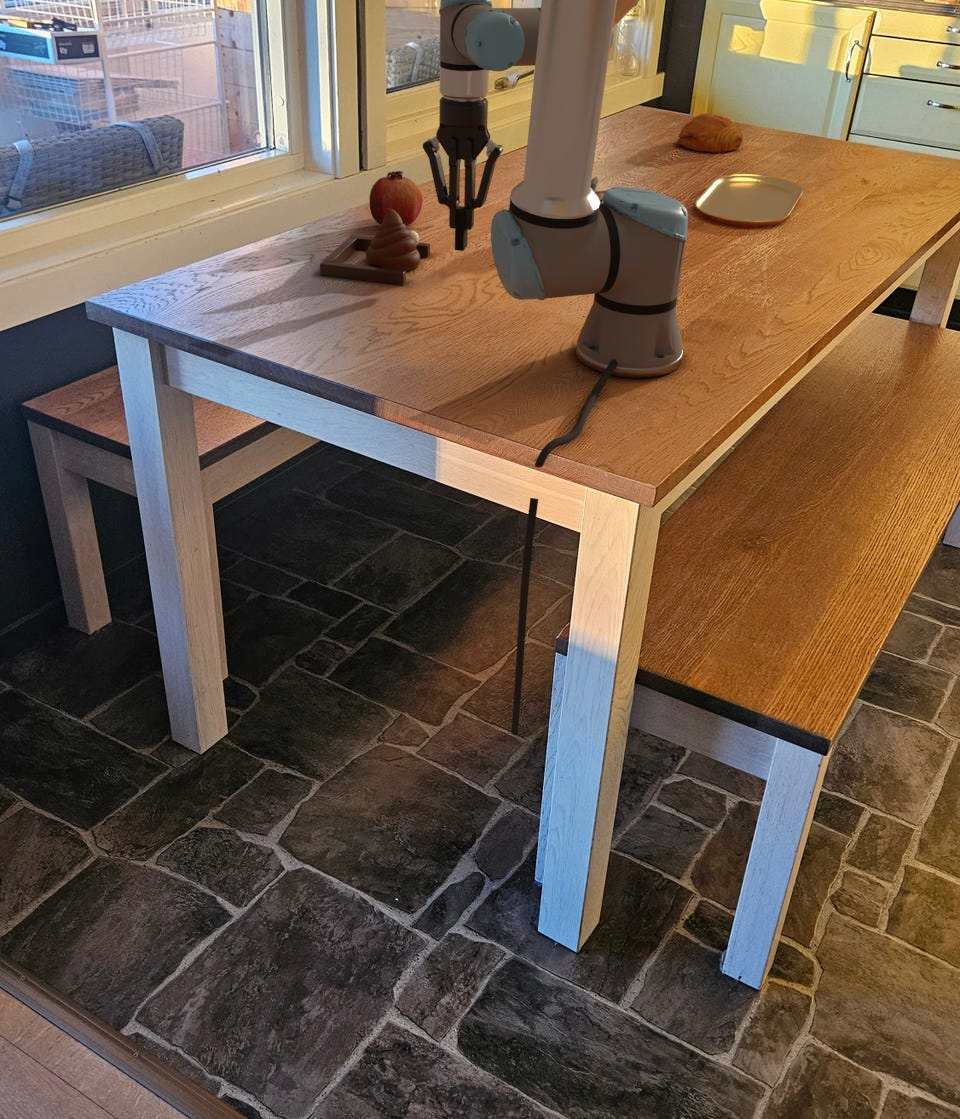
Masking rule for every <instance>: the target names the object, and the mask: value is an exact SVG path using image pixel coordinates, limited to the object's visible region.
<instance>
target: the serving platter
mask: <svg viewBox="0 0 960 1119" xmlns="http://www.w3.org/2000/svg"><path fill="white" fill-rule="evenodd" d="M803 193H804V189H803V188H802V187H801V185H799V184H797V183H795V182H792V181H790V180H787V179H784V178H779V177H775V176H771V175H770V176H769V175H761V174H745V173H743V174H728V175H722V176H720V177H717V178H715V179H714V180H713V181H712V182H711V183H710V185H708V187H707V188H706V189H705V190H704V191H703V192H702V193H701V194H700V195H699V197H698V198H697V199H696V200H695V202H694V206H695V208H696V210H697V212H699V213H700V214H701V215H702V216H704V217H706V218H707V219H709V220H711V221H715V222H718V223H721V224H725V225H731V226H735V227H736V226H738V227H747V228H748V227H749V228H750V227H753V228H754V227H755V228H757V227H758V228H759V227H766V226H767V227H768V226H769V227H770V226H774V225H776V224H779V223H780V224H781V223H782V222H783V221H785V220H787V219H788V218H789V216H790V215H791V213H792V212H793V210H794V209H795V207H796V205H797V204H798V202H799V200H800V199H801V197H802V196H803Z"/></svg>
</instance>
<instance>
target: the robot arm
mask: <svg viewBox="0 0 960 1119" xmlns="http://www.w3.org/2000/svg"><path fill="white" fill-rule="evenodd" d="M640 1H641V0H541V4H540V7H498V8H497V7H493V3H492V0H440V4H439V8H438V14H439V94H441V97H440V99H439V119H438V120H439V124H438V125H439V126H438V129H437V130H436V133H435V136H434V137H432V138H428V139H427V140H425V141H424V142H423V143H422V149H423V150H424V152H425V154H426V156H427V158H428V161H429V165H430V169H431V174H432V180H433V182H434V183H433V184H434V188H435V194H436V197H437V202H438V204H439V205H444V206H446V207H447V209H449V212H448V213H449V215H448V217H449V218H448V226H449V228H450V229H454V251H459V252H465V250H466V249H467V247H468V237H469V236H468V234H469V232H468V231H471V230H472V229H473V227H474V226H475V209H480V208H482V207H483V206H484V205H485V204H486V201H487V198H488V195H489V191H490V186H491V183H492V179H493V176H494V172H495V169H496V168H495V167H496V164H497V161H498V159H499V158H500V156H501V155H502V153H503V152H504V146H503V145H501V144H497V143H495V141H493V140H492V139H491V134H490V132H489V129H488V120H489V118H488V116H489V114H488V113H489V100H487V98H486V97H487V96H488V95H489V82H490V80H489V79H490V71H491V72H497V73H498V72H504V71H507V70H509V69H511V68H512V67H529V66H530V67H531V66H532V67H534V73H533V74H534V75H533V82H532V83H533V85H532V93H531V94H532V95H531V102H530V103H531V104H530V114H529V123H528V124H529V125H528V134H527V144H526V153H525V154H526V155H525V163H524V164H525V165H524V174H523V180H522V181H520V182H519V183H518V184H516V185H515V186H514V187H513V188H512V189H511V191H510V197H509V207H508V209H503V208H502V209H500V210H498V211H497V212H495V213H494V215H493V218H492V220H491V224H490V244H491V245H490V246H491V251H492V257H493V261H494V265H495V270H496V272H497V275H498V276H497V277H498V278H499V280H500V283H501V285H502V287H503V288H504V290H505V291H506V292H507V294H508V295H509V296H510V297H512V298H513V299H516V300H519V301H525V300H526V301H528V300H539V301H545V299H547V300H548V299H557V298H567V297H576V296H586V295H593V302H592V305H591V308H590V309H589V312H588V313H587V316H586V318H585V321H584V323H583V325H582V327H581V329H580V332H579V334H578V337H577V341H576V351H575V352H576V357H577V359H578V360H579V361H580V362H581V363H582V364H584V365H585V366H587V367H588V368H590V369H592V370H594V371H597V372H600V373H602V374H601V376H600V378H599V379H598V380H597V383H596V384H595V386H594V387H593V389H592V390H591V392H590V394H589V396H587V397H588V398H587V400H586V401H585V403H584V405H583V408H581V411H580V413H579V415H578V418H577V421H576V423H575V425H574V427H573V428H572V429H571V431H570V432H568V433H567V434H565V435H562V436H558V437H556V438H554V439H552V440H551V441H549V442H548V443H547V444H545V446H544V447H543V448H542V450H541V451H540V452H539V454H538V456H537V458H536V461H535V463H534V466H535V468H542V467H544V465H545V462H546V460H547V459H548V457H549V456H550V454H551V452H553V450H555V448H556V449H557V448H558V447H560V446H563V445H566V444H569V443H570V442H572V441H574V440H575V439H576V438H577V437H578V436H579V435H580V433H581V432H582V430H583V428H584V427H585V424H586V422H587V418H588V417H589V415H590V412H591V410H592V408H593V406H594V404H595V403H596V400H597V399H598V397H599V394H600V393H601V392H602V390H603V389H604V387H605V385H606V383H607V382H608V380H609V378H610V377H611V376H616V377H620V378H621V377H622V378H632V379H633V378H634V379H635V378H636V379H643V378H654V377H660V376H664V375H667V374H670V373H672V372H674V371H676V370H677V369H678V368H679V367H681V366H680V365H681V364H682V360H683V354H684V353H683V352H684V350H683V348H684V346H683V340H682V335H681V330H680V324H679V319H678V314H677V305H678V296H679V289H680V282H681V276H682V269H683V263H684V256H685V249H686V242H688V228H689V227H688V225H689V214H688V211H687V210H688V209H686V207H685V205H684V204H683V203H682V202H681V201H679V200H677V199H676V198H673V197H671V196H668V195H666V194H663V193H660V192H657V191H653V190H648V189H643V188H638V187H637V188H636V187H627V186H615V187H610V188H608V189H606V190H604V191H605V193H604V196H603V197H602V202H603V203H602V204H600V200H599V198H598V196H597V195H596V194H595V192H594V191H593V190H592V189H591V187H590V186H591V180H592V179H593V172H594V164H595V158H596V150H597V144H598V143H597V142H598V136H599V129H600V123H601V117H602V116H601V115H602V108H603V102H604V101H603V100H604V95H605V94H604V93H605V86H606V80H607V73H608V65H609V60H610V59H609V58H610V51H611V48H612V47H613V42H614V32H615V30H614V28H615V27H616V26H617V25H618V24H619V23H620V22H621V21H622V19H623V18H625V16H626V15H627V14H628V13H629V12H631V11H632V9H633V8H634V7H635V6H636V5H637V4H638V3H639V2H640ZM441 147H442V149H443V151H444V152H445V154H446V155H447V156H448V185H447V181H446V176H445V172H444V167H443V161H442V157H441V154H440V149H441ZM484 149H486V151H485V154H486V156H487V158H486V161H485V165H484V168H483V172H482V176H481V180H480V184H479V187H478V191H477V195H476V176H477V175H476V171H477V160H478V157H479V156H480V154H481V153H482V151H483V150H484ZM462 161H464V163H463V166H464V194H463V196H464V199H463V200H464V204H463V205H464V206H463V205H460V203H461V200H460V196H461V192H460V191H461V162H462ZM538 505H539V498H534V497H530V498H529V506H528V512H527V513H528V514H527V520H526V528H525V539H524V549H523V556H522V558H523V559H522V569H521V580H520V594H519V605H518V606H519V608H518V620H517V621H518V624H517V638H516V641H517V642H516V656H515V673H514V690H513V704H512V705H513V706H512V716H511V717H512V719H511V730H510V731H511V732H510V733H511V735H512V736H517V735H519V731H520V730H519V729H520V717H521V703H522V690H523V689H522V688H523V677H524V676H523V675H524V662H525V661H524V658H525V644H526V643H525V642H526V630H527V629H526V628H527V616H528V615H527V613H528V600H529V588H530V577H531V576H530V575H531V565H532V556H533V546H534V537H535V529H536V520H537V512H538Z"/></svg>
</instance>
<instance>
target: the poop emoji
mask: <svg viewBox="0 0 960 1119" xmlns="http://www.w3.org/2000/svg"><path fill="white" fill-rule="evenodd" d="M372 237H373V238H372V240H371V245H370V246H369V247H368V249H367V250H365V259H366V261H367V263H368V264H370V265H371V266H373V267H377V266H378V267H379V268H386V269H394V270H403V271H406V272H409V271H413V270H415V269H416V268H418V267H419V265H420V263H421V257H420V255H419V252H418V251H417V249H416V245H417V244H418V242H420V236H419V234H418V233H417V231H415V230H409V229H407V226H405V224H403V222H402V219H401V217H400V216H399V214H398V213H397V212H396V211H395V210H393V209H390V208H387V209H386V215H385V217H384V219H383V223H382V224H381V225H380V224H379V225H378V226H377V227H376V230H375V233H374V236H372Z"/></svg>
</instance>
